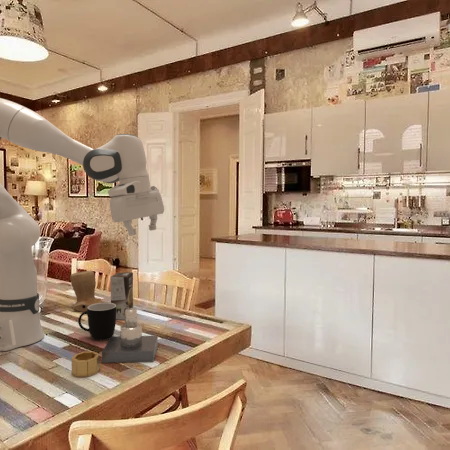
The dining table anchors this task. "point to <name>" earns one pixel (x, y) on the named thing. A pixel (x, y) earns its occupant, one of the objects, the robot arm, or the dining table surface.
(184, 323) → the dining table surface
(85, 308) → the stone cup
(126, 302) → the coffee box
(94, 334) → the mug
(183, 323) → the dining table surface
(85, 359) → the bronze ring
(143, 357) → the grey plate with knob
